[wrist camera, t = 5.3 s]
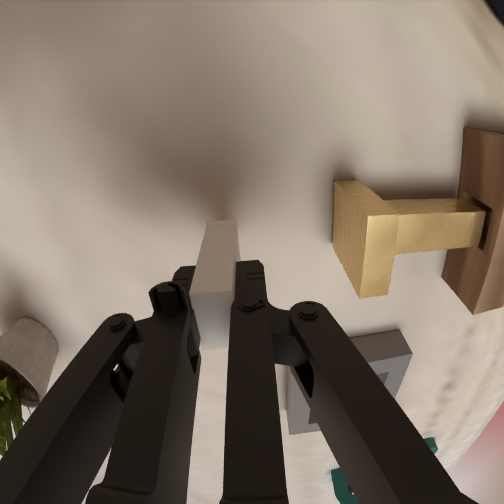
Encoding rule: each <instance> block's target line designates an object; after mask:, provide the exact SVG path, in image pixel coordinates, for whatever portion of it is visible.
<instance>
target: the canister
mask: <svg viewBox="0 0 504 504" xmlns="http://www.w3.org/2000/svg"><path fill="white" fill-rule="evenodd" d="M490 1H491V2H492V4H493V6H494V8H495V9H496V11H497V12H498V13H499V15H500V16H501V17H502V19H503V20H504V0H490Z"/></svg>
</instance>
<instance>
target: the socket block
mask: <svg viewBox="0 0 504 504" xmlns="http://www.w3.org/2000/svg"><path fill="white" fill-rule="evenodd" d="M457 199H467V200H468V201H470V202H472V203H473V204H475V205H476V206H478V207H479V208H481V209H483V210H484V211H486V214H485V219H484V224H483V229H482V233H481V238H480V242H479V246H472V247H463V248H453V249H448V253H447V257H446V262H445V266H444V270H443V274H442V279H443V280H444V281H445V282H446V283H447V284H448V285H449V287H450V288H451V289H452V290H453V291H454V292H455V294H456V295H457V296H458V297H459V298H460V300H461V301H462V302H463V303H464V305H465V306H466V307H467V308H468V309H469V311H470V312H471V313H472V314H473V315H474V314H478V313H482V312H486V311H489V310H493V309H497V308H500V307H504V134H500V133H494V132H489V131H484V130H478V129H472V128H465V127H464V135H463V152H462V164H461V174H460V183H459V191H458V198H457Z"/></svg>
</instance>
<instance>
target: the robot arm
mask: <svg viewBox="0 0 504 504" xmlns="http://www.w3.org/2000/svg"><path fill="white" fill-rule="evenodd" d="M148 293H149V296H150V300H151V303H152V306H153V309H154V312H153V315H152V317H149V318H146V319H142V320H138V321H134V319H133V317H132V316H131V315H129V314H127V313H119V314H114V315H112V316H110V317H108V318H107V319H106V320H105V321H104V322H103V323H102V324H101V325H100V326H99V328H98V329H97V330H96V331H95V333H94V334H93V335H92V336H91V337H90V339H89V340H88V341H87V342H86V344H85V345H84V346H83V347H82V349H81V350H80V351H79V352H78V354H77V355H76V356H75V357H74V359H73V360H72V361H71V362H70V364H69V365H68V366H67V368H66V369H65V370H64V371H63V373H62V374H61V375H60V377H59V378H58V379H57V381H56V382H55V383H54V384H53V386H52V387H51V388H50V390H49V391H48V392H47V394H46V395H45V396H44V398H43V399H42V401H41V402H40V403H39V405H38V406H37V407H36V409H35V410H34V412H33V413H32V414H31V416H30V417H29V419H28V420H27V422H26V423H25V424H24V426H23V427H22V429H21V430H20V431H19V433H18V434H17V436H16V437H15V439H14V440H13V442H12V443H11V445H10V446H9V448H8V449H7V451H6V452H5V454H4V455H3V457H2V458H1V460H0V504H81V503H82V501H83V499H84V498H85V496H86V494H87V492H88V490H89V488H90V486H91V484H92V482H93V480H94V479H95V477H96V475H97V473H98V471H99V469H100V468H101V466H102V464H103V462H104V460H105V458H106V456H107V455H108V453H109V451H110V449H111V452H110V456H109V460H108V464H107V468H106V472H105V477H104V479H103V481H102V482H101V483H100V484H97V485H94V486H93V487H92V488H91V489H90V490H89V493H88V495H87V498H86V502H85V504H186V501H187V488H188V477H189V466H190V455H191V445H192V435H193V426H194V416H195V407H196V398H197V390H198V381H199V373H200V365H201V355H200V351H199V346H200V342H201V346H202V350H204V349H227V348H229V350H228V371H227V394H226V419H225V446H224V478H223V495H222V498H221V500H220V502H219V504H289V501H288V496H287V488H286V477H285V466H284V455H283V445H282V434H281V424H280V413H279V403H278V393H277V383H276V373H275V364H281V365H288V366H290V370H291V372H292V374H293V376H294V378H295V380H296V382H297V384H298V386H299V388H300V390H301V392H302V394H303V396H304V398H305V400H306V402H307V404H308V406H309V408H310V410H311V412H312V414H313V416H314V418H315V420H316V422H317V424H318V426H319V428H320V429H321V431H322V433H323V435H324V437H325V439H326V441H327V443H328V445H329V447H330V449H331V451H332V453H333V455H334V457H335V459H336V461H337V462H338V464H339V466H340V468H341V470H342V472H343V474H344V476H345V478H346V480H347V482H348V484H349V485H350V487H351V489H352V491H353V493H354V495H355V497H356V499H357V501H358V503H359V504H478V503H477V502H475V501H474V500H472V499H470V498H469V497H467V496H466V495H464V494H463V493H461V492H460V491H459V489H458V488H457V486H456V485H455V484H454V482H453V481H452V479H451V478H450V476H449V475H448V473H447V472H446V470H445V469H444V468H443V466H442V465H441V463H440V462H439V460H438V459H437V458H436V456H435V455H434V453H433V452H432V450H431V449H430V448H429V446H428V445H427V443H426V442H425V441H424V439H423V438H422V436H421V435H420V434H419V432H418V431H417V429H416V428H415V427H414V425H413V424H412V422H411V421H410V420H409V418H408V417H407V415H406V414H405V413H404V411H403V410H402V409H401V407H400V406H399V404H398V403H397V402H396V400H395V399H394V398H393V396H392V395H391V393H390V392H389V391H388V389H387V388H386V387H385V385H384V384H383V383H382V381H381V380H380V379H379V377H378V376H377V375H376V373H375V372H374V370H373V369H372V368H371V366H370V365H369V364H368V362H367V361H366V360H365V358H364V357H363V356H362V354H361V353H360V352H359V350H358V349H357V348H356V346H355V345H354V344H353V342H352V341H351V340H350V338H349V337H348V336H347V335H346V333H345V332H344V331H343V329H342V328H341V327H340V325H339V324H338V323H337V321H336V320H335V319H334V317H333V316H332V315H331V314H330V312H329V311H328V310H327V308H326V307H324V306H323V305H322V304H320V303H317V302H313V301H304V302H300V303H297V304H295V305H294V306H293V307H291V309H290V311H289V310H282V309H278V308H276V307H274V306H272V305H271V304H270V303H269V302H268V299H267V293H266V284H265V275H264V266H263V264H262V263H261V262H260V261H259V260H251V261H241V260H240V251H239V241H238V232H237V222H236V219H232V220H220V221H209V222H208V223H207V227H206V230H205V234H204V238H203V241H202V245H201V249H200V253H199V257H198V260H197V264H196V266H183V267H180V268H179V269H178V270H177V271H176V272H175V273H174V276H173V279H172V281H168V282H163V283H160V284H158V285H156V286H154V287H153V288H151V290H150V291H149V292H148ZM117 364H118V367H117V369H116V370H115V371H114V370H113V369H114V368H115V366H116V365H117ZM111 447H112V448H111Z"/></svg>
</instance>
